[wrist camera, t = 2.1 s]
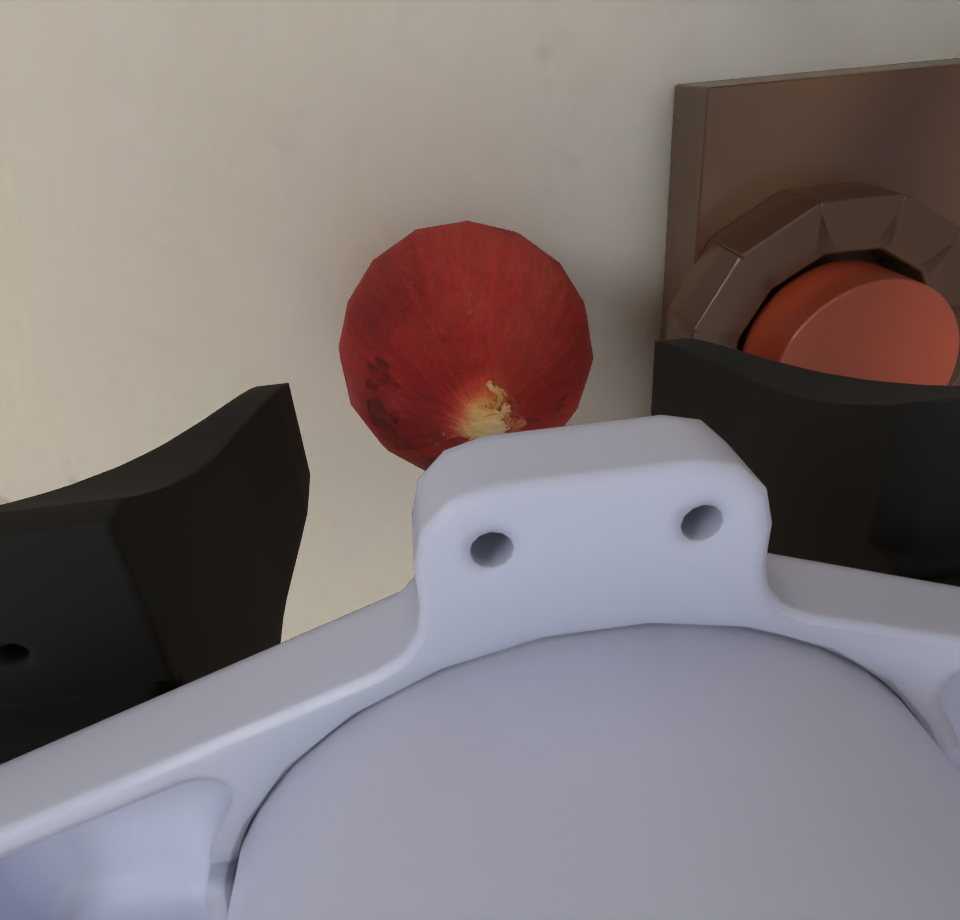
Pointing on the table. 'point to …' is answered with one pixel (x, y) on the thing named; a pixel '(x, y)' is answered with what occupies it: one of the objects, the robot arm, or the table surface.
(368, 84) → the table surface
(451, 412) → the red fruit
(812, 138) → the button box
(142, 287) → the table surface
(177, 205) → the table surface
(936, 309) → the button
